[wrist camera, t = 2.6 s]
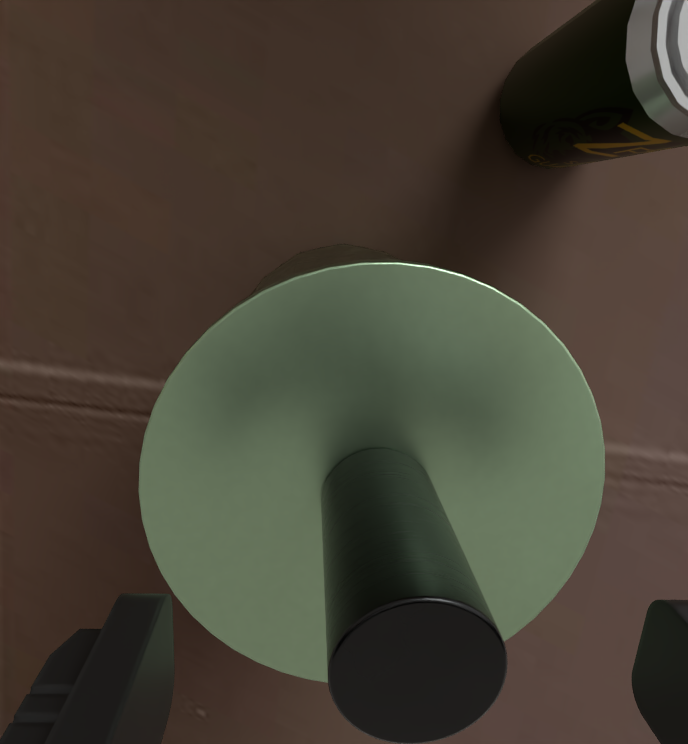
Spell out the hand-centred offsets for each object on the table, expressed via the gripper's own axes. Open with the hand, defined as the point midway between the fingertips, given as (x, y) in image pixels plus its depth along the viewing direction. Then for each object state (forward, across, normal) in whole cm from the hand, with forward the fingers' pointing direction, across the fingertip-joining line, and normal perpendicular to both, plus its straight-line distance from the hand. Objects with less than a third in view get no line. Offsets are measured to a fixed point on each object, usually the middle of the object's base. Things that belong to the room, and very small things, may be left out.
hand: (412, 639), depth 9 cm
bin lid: (+5, 0, 0) cm, 5 cm away
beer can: (+20, -9, -12) cm, 25 cm away
